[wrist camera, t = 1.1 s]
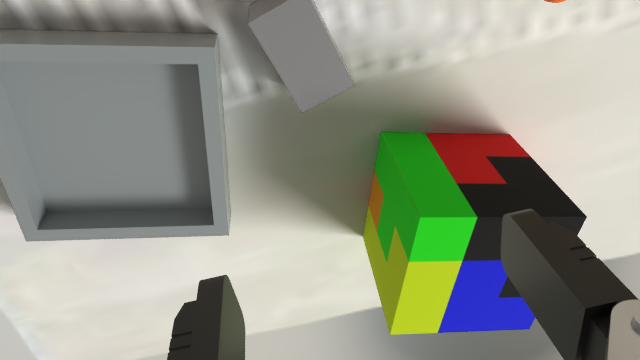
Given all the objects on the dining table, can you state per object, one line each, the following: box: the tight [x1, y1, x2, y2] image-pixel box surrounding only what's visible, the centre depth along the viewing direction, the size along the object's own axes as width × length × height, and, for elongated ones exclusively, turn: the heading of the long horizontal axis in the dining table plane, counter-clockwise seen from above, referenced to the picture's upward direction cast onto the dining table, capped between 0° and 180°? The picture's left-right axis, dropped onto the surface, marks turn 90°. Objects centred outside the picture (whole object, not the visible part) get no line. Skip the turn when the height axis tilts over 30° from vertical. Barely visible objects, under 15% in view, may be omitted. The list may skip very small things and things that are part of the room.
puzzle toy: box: [363, 132, 587, 335], centre depth 33 cm, size 10×10×10 cm
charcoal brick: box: [248, 0, 354, 113], centre depth 27 cm, size 6×4×4 cm, turn 27°
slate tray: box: [0, 29, 231, 241], centre depth 30 cm, size 14×14×3 cm
